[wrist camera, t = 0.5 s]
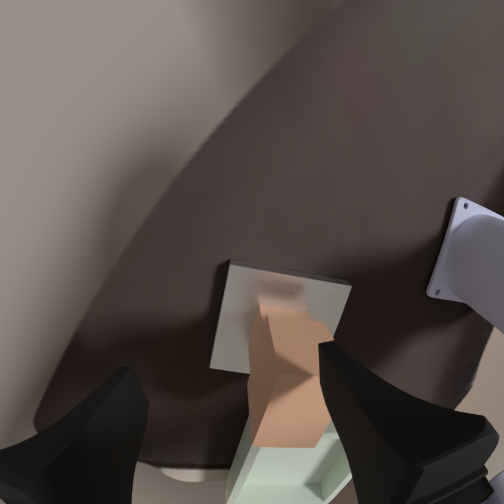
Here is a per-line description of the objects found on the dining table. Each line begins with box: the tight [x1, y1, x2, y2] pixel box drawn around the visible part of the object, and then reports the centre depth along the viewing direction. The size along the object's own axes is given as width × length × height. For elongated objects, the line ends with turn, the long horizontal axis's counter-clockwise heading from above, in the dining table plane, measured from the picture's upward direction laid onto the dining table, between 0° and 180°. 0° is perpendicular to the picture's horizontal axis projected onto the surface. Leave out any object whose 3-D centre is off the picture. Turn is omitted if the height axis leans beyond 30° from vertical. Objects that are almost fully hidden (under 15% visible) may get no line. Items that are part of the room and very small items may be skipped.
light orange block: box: [247, 305, 335, 448], centre depth 16 cm, size 3×5×8 cm, turn 168°
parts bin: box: [226, 416, 352, 504], centre depth 24 cm, size 12×15×4 cm
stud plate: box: [210, 259, 352, 374], centre depth 19 cm, size 8×8×4 cm
